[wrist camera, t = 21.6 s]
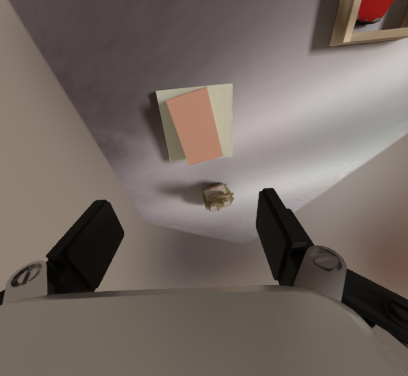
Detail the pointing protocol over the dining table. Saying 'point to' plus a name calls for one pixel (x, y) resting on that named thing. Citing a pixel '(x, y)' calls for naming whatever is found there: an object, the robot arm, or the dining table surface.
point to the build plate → (221, 112)
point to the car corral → (345, 34)
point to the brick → (195, 125)
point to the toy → (217, 197)
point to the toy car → (372, 11)
